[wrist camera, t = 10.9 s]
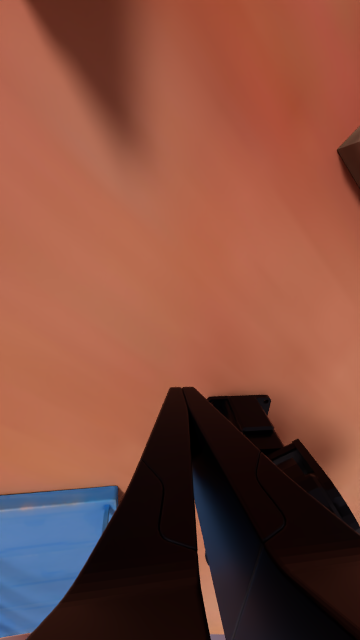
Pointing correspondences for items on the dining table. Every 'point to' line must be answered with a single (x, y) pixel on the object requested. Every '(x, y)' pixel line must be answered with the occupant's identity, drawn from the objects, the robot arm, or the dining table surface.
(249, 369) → the dining table surface
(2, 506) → the file sorter
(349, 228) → the dining table surface
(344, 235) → the dining table surface
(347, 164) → the plank
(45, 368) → the dining table surface
